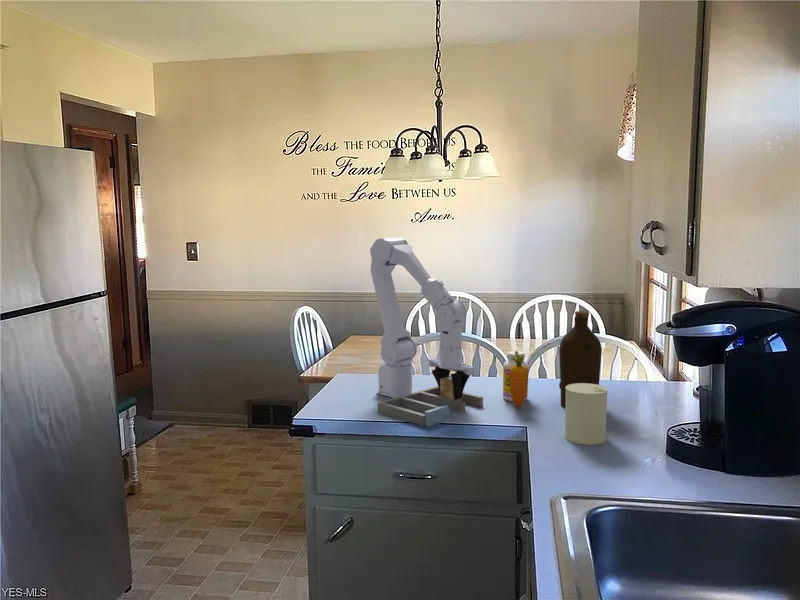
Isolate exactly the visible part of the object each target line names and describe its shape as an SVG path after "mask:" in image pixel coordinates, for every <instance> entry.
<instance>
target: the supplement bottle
mask: <svg viewBox="0 0 800 600" xmlns="http://www.w3.org/2000/svg"><path fill="white" fill-rule="evenodd" d="M515 351H516V350H511V351H507V354H506V356H507V357H506V358H507V360H506V361H505V362H504V363H503V367H502V369H503V371H502V372H503V374H502V375H503V377H502V378H503V379H502V397H503V399H504V400H506V401H507V402H508V401H510V402H513V399H512V396H511V391H510V385H509V369H510V367H512V366H514V365H517V364H516V362H515V361H514V360H513V359H512V358H511V357H515V358H516V359H517V357H516V355H515ZM517 351H518V354H519V356H520V357H521V354H523V355H524V357H523V362H522V365H523V366H525V367H527V368H528V369H529V364H528V362H526V361H525V357H526V353H525V352H524V351H519V350H517ZM528 389H529V386H528V387H527V392H526V397H525V399H524V401H526V400H528V394H529V392H528V391H529V390H528Z"/></svg>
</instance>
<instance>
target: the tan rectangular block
mask: <svg viewBox="0 0 800 600" xmlns="http://www.w3.org/2000/svg"><path fill="white" fill-rule="evenodd" d="M440 396H442V397H446V398H449V399H453V400H456V399H455V398H454V386H453V381H452V378H451V375H449V376H448V377H444V378H440ZM457 401H461V402H462V398H461V399H457Z"/></svg>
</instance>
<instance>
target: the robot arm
mask: <svg viewBox="0 0 800 600" xmlns="http://www.w3.org/2000/svg"><path fill="white" fill-rule="evenodd" d="M369 251H370V253H369V254H370V257H371V262H370V263H371V264H370V274H371V278H372V283H373V286H374V287H373V288H374V291H375V296H376V300H377V301H376V302H377V304H378V309H379V313H380V317H381V320H382V321H381V322H382V325H383V330H384V333H383V334H382V336H381V338H380V345H381V348H380V356H381V359H382V361H383V362H382V363H381V364H380V365H379V367H378V373H377V374H378V377H377V378H378V380H377V381H378V390H377V391H376V394H378V395H382V396H386V397H389V398H391V399H393V398H396V397H400V396H403V395H407V394H410V393H414V392H417V391H415V390H413V362H414V361H413V360H414V357H416V355H417V351H418V348H417V345H416V343H415V340H414V339H413V338H412V335H411V332H410V331H409V330H408V329H406V328H405V325H404V323H403V319H402V314H401V310H400V306H399V302H398V301H399V300H398V297H397V293H396V287H395V285H394V284H395V283H394V281H393V280H394V279H393V276H392V272H394V269H395V267H397V266H398V265H399V266H402V267H403V268H404V269H405V271H407V272H408V273H409V274H410V276H412V277H413V279H414V280H415V281H416V282H417V283H418V284H419V285H420V289H421V290H420V294H421V295H423V297H424V299H426V301H427V303H428V304H429V305H430V306H431V307H432V308H433V310H434V311H435V313H434V315H435V318H436V320H437V322H438V325H439V326H438V327H439V359H438V358H430V359H428V367H430V368H433V367H434V369H432V370H431V374H432V375H433V377H434V379H435V381H436V383H437V386H438V387H439V391H440V378H444V377H448V376H451V378H452V381H453V386H454V398H455V399H456V400H457V399H461V398H462V394H463V392H464V389H465V387H466V384H467V381H468V380H469V378H470V376H472V375H475V366H473V365H469V364H466V363H464V362H463V361H462V360H463V359H462V357H463V354H462V353H463V348H462V347H463V345H462V344H463V339H462V337H463V335H462V333H463V320H464V319H465V317H466V314H467V311H466V310H467V309H466V307H465V306H464V303H463V302H462V301H461V300H458V299H455V297H454V296H453V295H451V294H450V293H449V291H448V289H446V287H444V282H443V281H442V280H440V279H437V278H432V277H431V276H430V274H429V273H428V271H427V270H426V268H425V267H424V266H423V264H422V263H421V262H420V261H419V259H418V257H417V256H416V255H415V253H414V251H413V246H412V245H411V244H409V243H408V241H407V240H406V239H405V238H404V237H400V236H398V237H391V238H390V237H389V238H388V237H387V238H383V237H382V238H377V239H376V240H375V241H374V242H373V244H372V245H371V247H370V249H369ZM451 372H454V373H451Z"/></svg>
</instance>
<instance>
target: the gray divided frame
mask: <svg viewBox="0 0 800 600" xmlns="http://www.w3.org/2000/svg"><path fill="white" fill-rule="evenodd" d="M466 404H467V405H469V406H470V405H471V406H475V407H479V408H482V407H484V397H483V396H480V395H477V394H472V393H467V392H464V391H463V394H462V402H461V401H457V400H453V399H449V398H446V397H442V396H440V391H439V387H438V385H436V386H432V387H428V388H425V389H422V390H421V389H420V390H418V391H416V392H414V393H410V394H407V395H403V396H400V397H396V398H390V399H386V400H382V401H379V402H377V413H378V414H383V415H386V416H389V417H392V418H395V419H398V418H399V420H402V421H405V422H409V423H412V424H415V425H418V426H421V427H425V426H426V427H431V426H434V425H438V424H440V423H443V422H446V420H447V421H449V420H450V418H449V417H450V416H449V413H450V411H453V410H454V411H453V412H457V411H458V413H460V412H462V413H461V414H464V413H466ZM449 409H450V411H449ZM463 412H464V413H463ZM448 419H449V420H448Z"/></svg>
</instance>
